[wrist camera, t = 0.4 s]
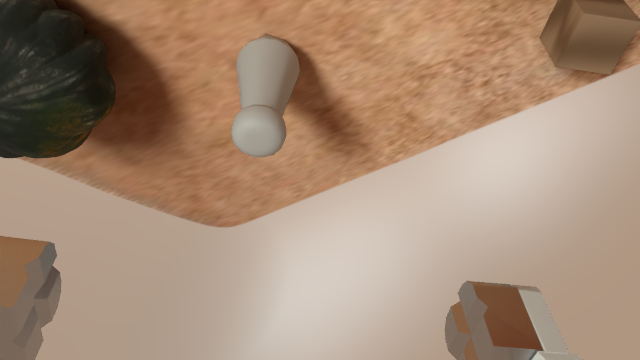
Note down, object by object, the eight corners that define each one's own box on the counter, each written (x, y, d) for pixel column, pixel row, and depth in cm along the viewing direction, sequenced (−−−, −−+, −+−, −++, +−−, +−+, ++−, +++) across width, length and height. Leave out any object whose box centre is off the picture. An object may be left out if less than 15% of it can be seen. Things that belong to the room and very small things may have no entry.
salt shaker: (312, 46, 51) (309, 134, 41) (281, 88, 54) (272, 179, 45) (257, 14, 48) (241, 100, 39) (228, 61, 52) (207, 150, 43)
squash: (52, 177, 55) (52, 208, 42) (-105, 88, 48) (-164, 91, 35) (133, 64, 57) (158, 60, 44) (-8, -37, 50) (-29, -78, 37)
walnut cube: (564, -15, 47) (584, 13, 43) (618, -6, 47) (642, 22, 44) (539, 37, 50) (555, 66, 46) (589, 44, 51) (610, 74, 47)
